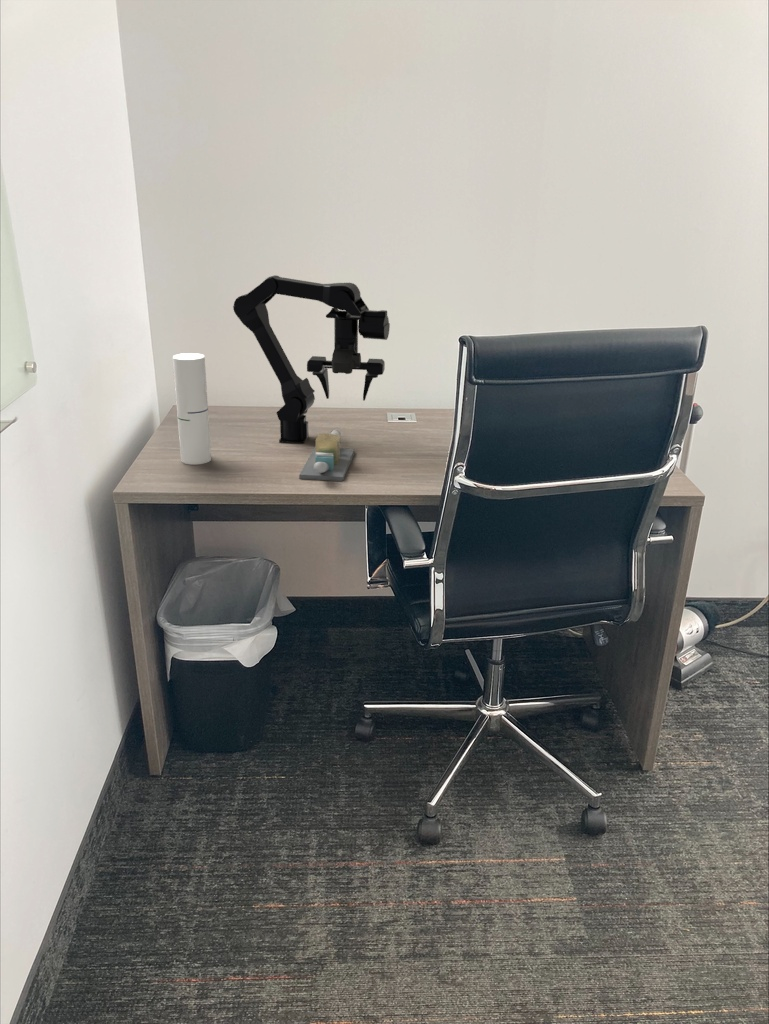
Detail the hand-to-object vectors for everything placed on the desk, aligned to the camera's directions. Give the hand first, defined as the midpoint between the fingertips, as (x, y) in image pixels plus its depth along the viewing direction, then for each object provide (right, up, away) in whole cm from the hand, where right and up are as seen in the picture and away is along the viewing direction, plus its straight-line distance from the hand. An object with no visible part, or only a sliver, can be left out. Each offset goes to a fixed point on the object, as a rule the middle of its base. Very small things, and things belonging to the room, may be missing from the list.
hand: (345, 399), depth 203 cm
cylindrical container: (-36, -16, -8) cm, 40 cm away
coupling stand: (-4, -17, -10) cm, 20 cm away
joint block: (-4, -16, -10) cm, 20 cm away
